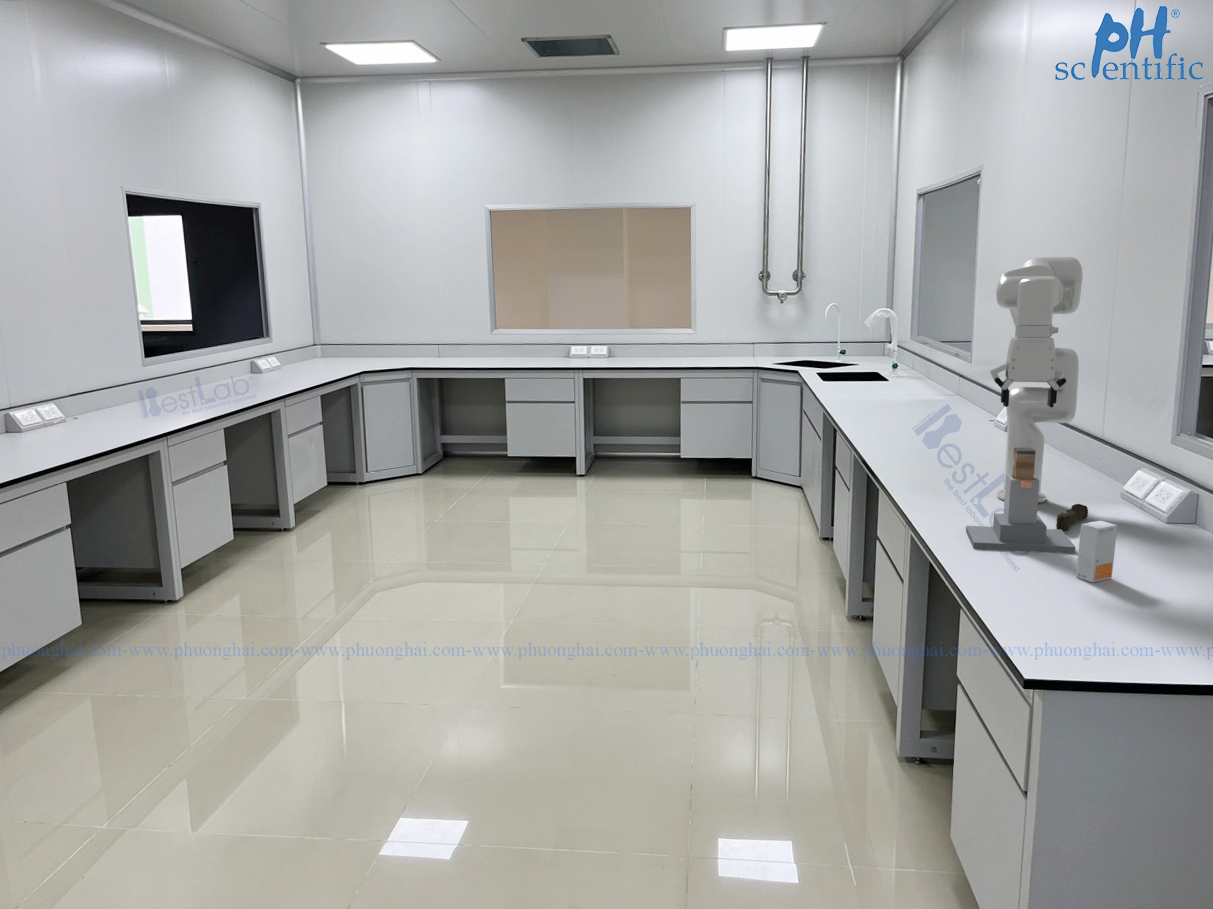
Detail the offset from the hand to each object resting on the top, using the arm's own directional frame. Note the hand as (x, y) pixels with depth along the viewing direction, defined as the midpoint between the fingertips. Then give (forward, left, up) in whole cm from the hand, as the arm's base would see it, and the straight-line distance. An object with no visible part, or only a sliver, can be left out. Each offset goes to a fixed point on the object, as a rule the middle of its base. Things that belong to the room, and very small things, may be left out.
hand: (1027, 406), depth 215 cm
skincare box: (+24, +11, -33) cm, 42 cm away
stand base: (0, 0, -33) cm, 33 cm away
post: (0, 0, -27) cm, 27 cm away
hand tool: (-16, +15, -34) cm, 40 cm away
